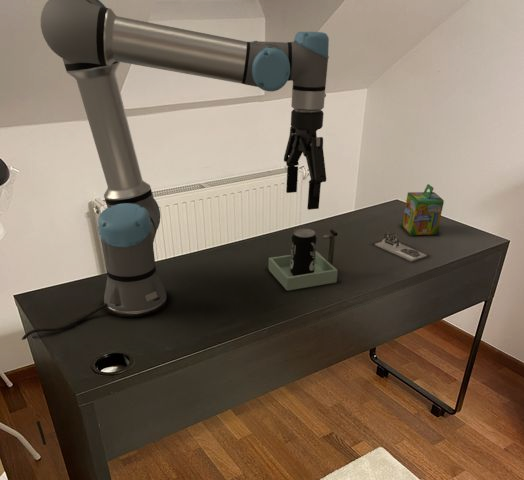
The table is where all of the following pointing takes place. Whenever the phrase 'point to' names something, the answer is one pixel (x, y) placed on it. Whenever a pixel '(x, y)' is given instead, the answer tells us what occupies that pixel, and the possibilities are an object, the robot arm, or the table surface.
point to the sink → (321, 275)
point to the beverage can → (303, 252)
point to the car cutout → (399, 248)
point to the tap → (331, 245)
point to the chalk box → (422, 212)
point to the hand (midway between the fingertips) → (301, 200)
